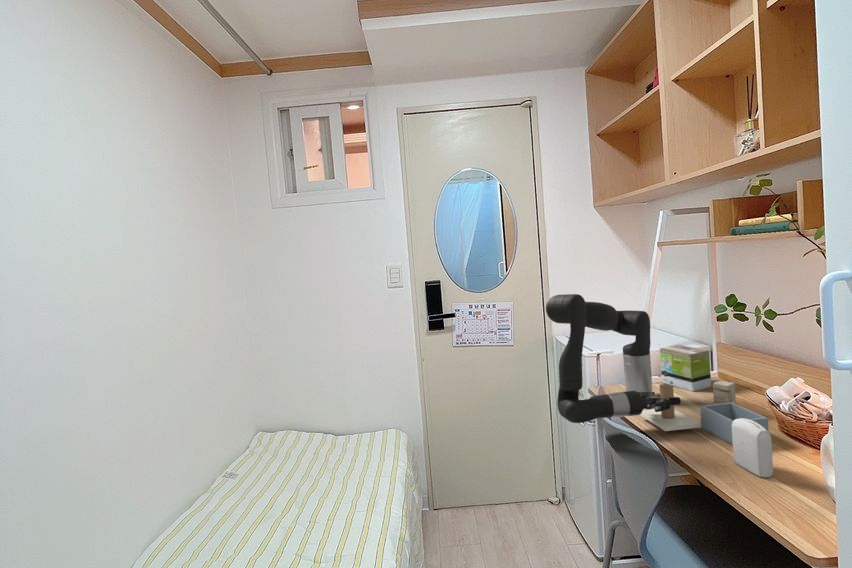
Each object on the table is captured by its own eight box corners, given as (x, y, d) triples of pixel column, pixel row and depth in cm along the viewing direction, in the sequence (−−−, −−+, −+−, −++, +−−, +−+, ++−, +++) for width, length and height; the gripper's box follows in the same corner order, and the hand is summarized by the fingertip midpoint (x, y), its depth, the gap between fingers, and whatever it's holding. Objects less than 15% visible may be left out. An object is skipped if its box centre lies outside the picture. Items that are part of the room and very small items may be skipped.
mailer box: (701, 428, 152) (700, 405, 152) (732, 424, 153) (731, 402, 152) (734, 446, 137) (733, 422, 137) (769, 442, 138) (767, 418, 137)
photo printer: (730, 461, 129) (728, 415, 128) (746, 459, 129) (744, 413, 129) (759, 479, 119) (756, 429, 118) (776, 477, 119) (774, 427, 118)
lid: (639, 414, 164) (637, 381, 164) (671, 410, 165) (669, 377, 164) (665, 431, 148) (663, 394, 148) (700, 427, 149) (698, 390, 148)
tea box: (661, 383, 201) (658, 347, 200) (679, 379, 204) (677, 343, 203) (693, 392, 186) (690, 353, 186) (712, 387, 190) (710, 349, 189)
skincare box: (713, 412, 164) (711, 382, 164) (721, 409, 166) (719, 379, 166) (729, 416, 160) (727, 385, 159) (737, 412, 162) (735, 382, 161)
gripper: (633, 398, 148) (688, 393, 149) (612, 386, 162) (663, 381, 163) (634, 423, 149) (689, 417, 150) (613, 408, 163) (664, 403, 164)
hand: (675, 398), depth 156 cm, fingers closed on lid, 3 cm apart
